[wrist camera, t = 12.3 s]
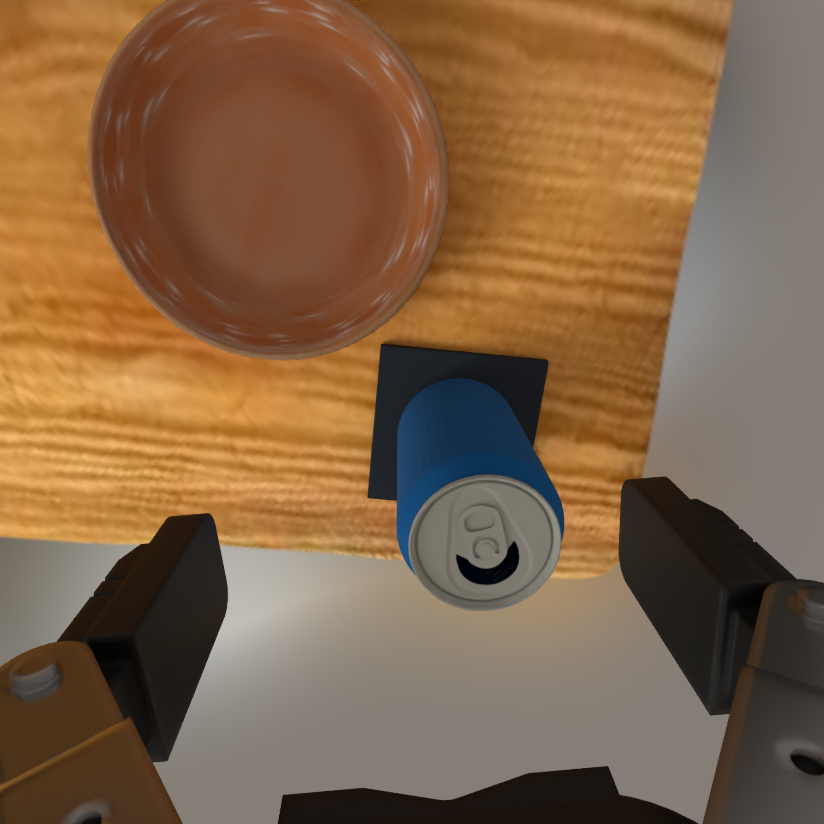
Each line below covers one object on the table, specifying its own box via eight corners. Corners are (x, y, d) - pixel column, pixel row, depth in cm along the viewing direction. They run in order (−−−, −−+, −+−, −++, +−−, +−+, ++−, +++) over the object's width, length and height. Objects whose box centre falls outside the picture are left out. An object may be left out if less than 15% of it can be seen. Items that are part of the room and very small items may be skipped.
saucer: (119, -40, 26) (85, -70, 24) (475, 37, 28) (484, 18, 25) (111, 319, 31) (82, 330, 29) (412, 370, 33) (414, 386, 30)
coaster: (367, 495, 35) (367, 498, 35) (381, 343, 32) (381, 345, 32) (520, 508, 35) (522, 511, 35) (547, 359, 33) (549, 361, 32)
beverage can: (414, 495, 35) (421, 636, 23) (384, 391, 33) (375, 490, 21) (524, 468, 34) (586, 599, 23) (501, 361, 32) (556, 446, 21)
